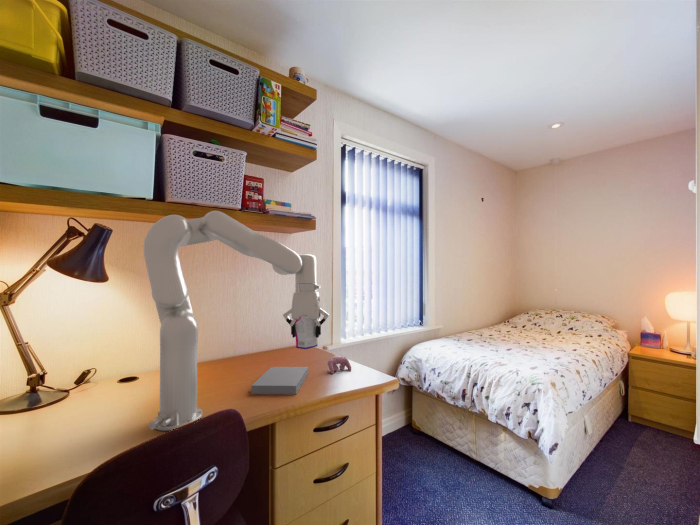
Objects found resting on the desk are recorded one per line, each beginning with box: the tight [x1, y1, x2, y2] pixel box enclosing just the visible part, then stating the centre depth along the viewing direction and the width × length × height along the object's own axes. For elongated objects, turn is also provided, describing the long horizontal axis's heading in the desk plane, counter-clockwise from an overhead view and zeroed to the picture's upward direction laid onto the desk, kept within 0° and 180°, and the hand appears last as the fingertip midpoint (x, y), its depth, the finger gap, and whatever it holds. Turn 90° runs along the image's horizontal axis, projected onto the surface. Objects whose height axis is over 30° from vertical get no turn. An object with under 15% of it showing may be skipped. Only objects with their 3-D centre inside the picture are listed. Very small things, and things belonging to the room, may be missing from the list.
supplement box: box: [295, 316, 319, 350], centre depth 110 cm, size 6×6×12 cm
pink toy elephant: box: [327, 356, 352, 375], centre depth 133 cm, size 10×5×7 cm, turn 116°
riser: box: [251, 366, 309, 395], centre depth 118 cm, size 22×16×3 cm
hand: (306, 336), depth 110 cm, fingers closed on supplement box, 8 cm apart
